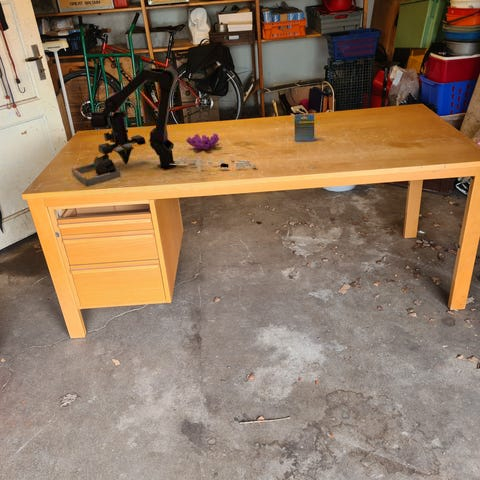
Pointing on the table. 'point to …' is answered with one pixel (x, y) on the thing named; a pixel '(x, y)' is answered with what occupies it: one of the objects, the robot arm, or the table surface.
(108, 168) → the end cap
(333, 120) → the table surface
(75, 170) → the frame
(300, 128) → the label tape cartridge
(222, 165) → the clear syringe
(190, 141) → the purple flower bowl
